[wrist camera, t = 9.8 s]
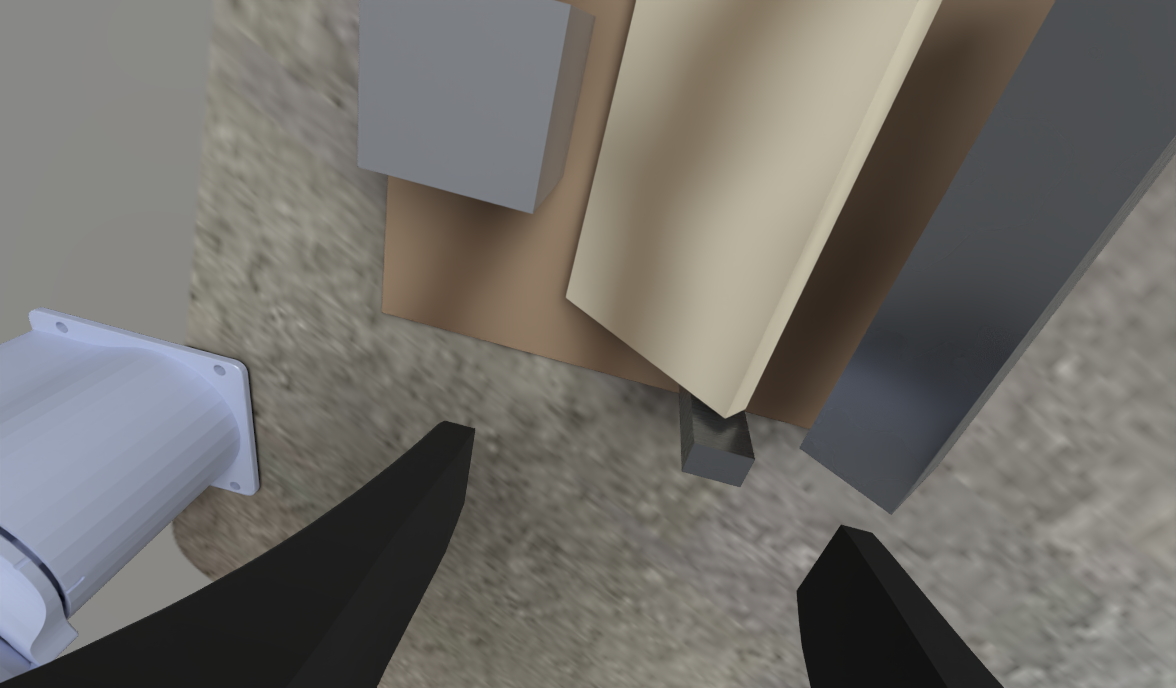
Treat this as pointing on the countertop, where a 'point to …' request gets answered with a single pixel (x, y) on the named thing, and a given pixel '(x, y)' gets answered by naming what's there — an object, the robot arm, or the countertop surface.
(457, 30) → the grey cube
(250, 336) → the countertop surface
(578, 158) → the frame
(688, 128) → the trapdoor
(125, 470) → the robot arm
